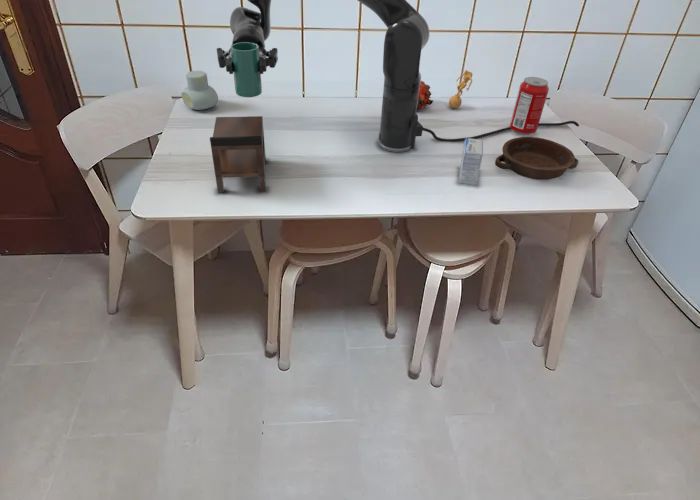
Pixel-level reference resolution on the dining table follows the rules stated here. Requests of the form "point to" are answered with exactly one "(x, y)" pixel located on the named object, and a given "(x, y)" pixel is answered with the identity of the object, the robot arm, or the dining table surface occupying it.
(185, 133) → the dining table surface
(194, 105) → the air freshener
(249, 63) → the tumbler
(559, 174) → the dish
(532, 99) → the soda can
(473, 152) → the medicine box
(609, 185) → the dining table surface
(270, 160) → the dining table surface
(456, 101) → the figurine
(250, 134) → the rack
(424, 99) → the dragon fruit
